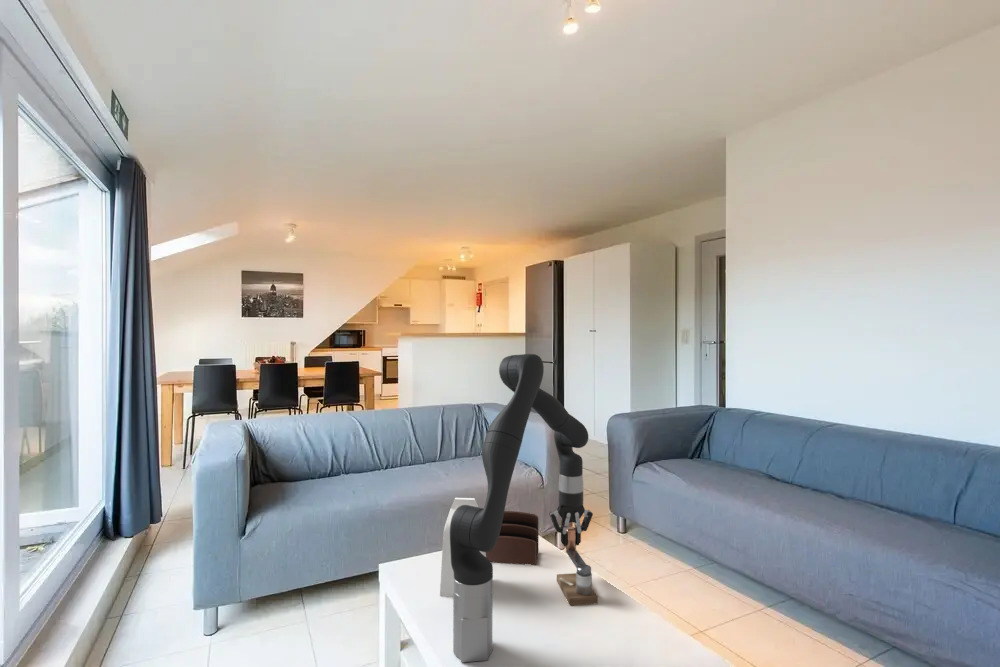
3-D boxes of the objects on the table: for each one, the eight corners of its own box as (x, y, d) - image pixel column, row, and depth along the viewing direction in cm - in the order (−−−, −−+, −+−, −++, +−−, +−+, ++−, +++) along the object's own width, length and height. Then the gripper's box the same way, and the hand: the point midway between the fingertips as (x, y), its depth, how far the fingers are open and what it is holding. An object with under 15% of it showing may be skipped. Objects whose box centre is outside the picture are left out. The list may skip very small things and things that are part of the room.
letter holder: (481, 549, 175) (481, 508, 175) (538, 553, 172) (538, 511, 173) (476, 562, 165) (476, 518, 165) (536, 566, 163) (536, 522, 163)
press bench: (597, 603, 139) (597, 578, 139) (568, 605, 138) (569, 580, 138) (582, 579, 153) (582, 556, 153) (556, 581, 152) (556, 557, 152)
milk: (486, 578, 153) (487, 493, 154) (481, 598, 142) (482, 505, 142) (447, 576, 155) (448, 492, 155) (439, 596, 143) (440, 504, 143)
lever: (593, 575, 140) (593, 548, 140) (579, 576, 140) (579, 549, 140) (575, 550, 157) (575, 526, 157) (563, 551, 156) (563, 527, 156)
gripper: (551, 493, 150) (551, 551, 150) (597, 491, 152) (597, 548, 152) (545, 486, 158) (545, 541, 158) (588, 484, 160) (588, 538, 160)
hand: (570, 544), depth 155 cm, fingers closed on lever, 3 cm apart
